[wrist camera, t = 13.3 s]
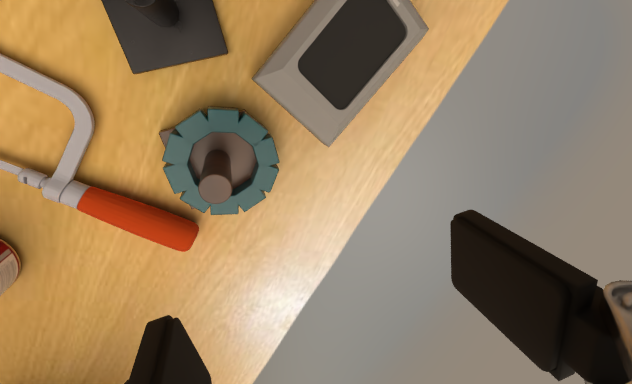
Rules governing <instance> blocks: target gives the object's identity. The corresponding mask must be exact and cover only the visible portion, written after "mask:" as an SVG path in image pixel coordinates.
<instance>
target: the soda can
mask: <svg viewBox="0 0 632 384" xmlns="http://www.w3.org/2000/svg"><path fill="white" fill-rule="evenodd" d="M20 269H21V263H20V259H19V257H18V255H17V253H16V252H15V250H14V249H13V248H12V247H11V246H10V245H9V244H8V243H6V242H5V241H3V240H2V239H0V296H1V295H2V294H3V293H4V292H5V291H6V290H7V289H8V288H9V287H10V286H11V285H12V284H13V283H14V282H15V280H16V279H17V278H18V276H19V273H20Z"/></svg>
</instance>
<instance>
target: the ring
mask: <svg viewBox="0 0 632 384" xmlns="http://www.w3.org/2000/svg"><path fill="white" fill-rule="evenodd" d="M207 112H208V116H207V115H206V113H205V112H204V111H203V109H200V110H198V111H196V112H195V113H193V114H192V115H190V116H189V117H187V118H186V119H184V120H183V121H181V122H180V123H178V124H177V125H176V126H175V128H176V130H173V131H172V132H171V133H170V135H169V139H168V142H167V146H166V149H165V153H164V156H163V160H162V161H164V162H167V163H166V164H165V166H164V167H163V170H164V172H165V174H166V176H167V178H168V181H169V183H170V185H171V187H172V189H173V191H174V194H176V193H180V192H182V194H181V197H180V200H182V201H184V202H186V203H187V204H189V205H191V206H193V207H194V208H196V209H198V210H200V211H201V212H203V213H205V212H206V210H207V209H208V208H209V207H210V206H211V215H222V214H238V205H239V206H240V207H241V208H242V210H243V211H244V212H245V211H247V210H248V209H250V208H251V207H253V206H254V205H256V204H257V203H259V202H260V201H262V200H263V199H265V198H266V196H265V193H264V191H266V192H271V189H272V186H273V184H274V181H275V179H276V176H277V173H278V171H279V168H278V167H277V165H276V164H277V163H279V159H278V155H277V152H276V148H275V145H274V141H273V138H272V136H271V135H270V134H267V133H268V130H267V129H266V128H265V127H264V126H263V125H261V124H260V123H259V122H258V121H256V120H255V119H254V118H253V117H251V116H250V115H249V114H248V113H246V112H245V111H244V112H243V113H242V115H241V116H240V117H239V111H238V109H237V108H224V107H208V109H207ZM211 132H222V133H236V134H237V135H238V136H240V137H241V138H242V139H244V140H245V141H246V142H248V143H249V144H250V145H252V147H253V150H254V153H255V157H256V160H257V161H256V164H255V167H254V170H253V172H252V175H251V178H250V179H248V180H247V181H245V182H244V183H242V184H241V185H239V186H238V187H236V188H235V189H232V194H231V196H230V197H229V199H228V200H226V201H225V202H223V203H220V204H211V203H208V202H206V201H205V200H203V199H202V198H201V196H200V194H199V191H198V186H199V182H200V180H199V179H198V178H197V177H196V174H195V172H194V170H193V167H192V165H191V162H190V160H189V159H190V156H191V152H192V149H193V146H194V144H195V143H196V142H198V141H199V140H201V139H202V138H204V137H205V136H207V135H208V134H210V133H211Z"/></svg>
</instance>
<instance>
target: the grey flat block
mask: <svg viewBox="0 0 632 384" xmlns="http://www.w3.org/2000/svg"><path fill="white" fill-rule="evenodd" d="M428 30H429V28H428V27H427V25H426V24H425V22H424V21H423V19H422V18H421V16H420V15H419V14H418V12H417V11H416V9H415V8H414V6H413V5H412V3H411V2H410V0H315V1H314V2H313V3H312V4H311V6H310V7H309V8H308V9H307V11H306V12H305V13H304V14H303V16H302V17H301V18H300V19H299V21H298V22H297V23H296V24H295V26H294V27H293V28H292V29H291V31H290V32H289V33H288V34H287V36H286V37H285V38H284V39H283V41H282V42H281V43H280V44H279V46H278V47H277V48H276V49H275V50H274V52H273V53H272V54H271V55H270V57H269V58H268V59H267V60H266V62H265V63H264V64H263V65H262V67H261V68H260V69H259V70H258V72H257V73H256V74H255V75H254V77H253V78H252V80H253V81H255V82H256V83H257V84H258V85H259V86H260V87H261V88H262V89H263V90H264V91H266V92H267V93H268V94H269V95H270V96H271V97H272V98H273V99H274V100H276V101H277V102H278V103H279V104H280V105H281V106H282V107H283V108H284V109H285V110H287V111H288V112H289V113H290V114H291V115H292V116H293V117H294V118H295V119H297V120H298V121H299V122H300V123H301V124H302V125H303V126H304V127H305V128H306V129H308V130H309V131H310V132H311V133H312V134H313V135H314V136H315V137H316V138H318V139H319V140H320V141H321V142H322V143H323V144H325V145H326V146H328V147H330V145H331V144H332V143H333V142H334V141H335V140H336V138H337V137H338V136H339V135H340V134H341V133H342V131H343V130H344V129H345V128H346V127H347V126H348V124H349V123H350V122H351V121H352V120H353V119H354V117H355V116H356V115H357V114H358V113H359V112H360V110H361V109H362V108H363V107H364V106H365V105H366V103H367V102H368V101H369V100H370V99H371V98H372V96H373V95H374V94H375V93H376V92H377V91H378V89H379V88H380V87H381V86H382V85H383V84H384V82H385V81H386V80H387V79H388V78H389V77H390V75H391V74H392V73H393V72H394V71H395V70H396V68H397V67H398V66H399V65H400V64H401V63H402V61H403V60H404V59H405V58H406V57H407V56H408V54H409V53H410V52H411V51H412V50H413V49H414V47H415V46H416V45H417V44H418V43H419V42H420V40H421V39H422V38H423V37H424V35H425V34H426V32H427V31H428Z"/></svg>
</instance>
